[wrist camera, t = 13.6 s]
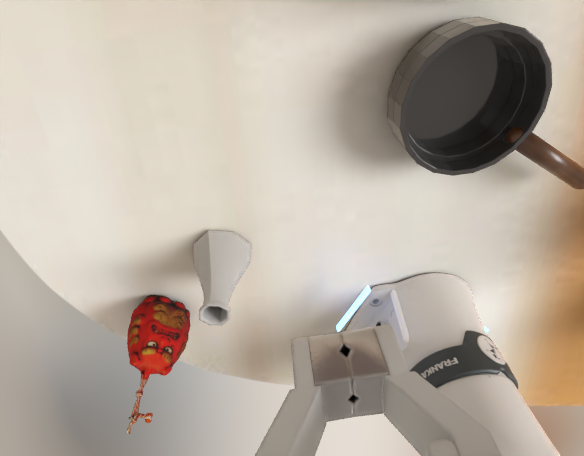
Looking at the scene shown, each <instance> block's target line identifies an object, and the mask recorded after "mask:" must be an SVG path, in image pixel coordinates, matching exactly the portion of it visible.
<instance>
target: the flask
mask: <svg viewBox="0 0 584 456" xmlns="http://www.w3.org/2000/svg"><path fill="white" fill-rule="evenodd" d="M251 247H252V245H251V244H250V243H248V242H247V241H246V240H244V239H243V238H241V237H240V236H238V235H237V234H236V233H234V232H227V231H214V230H208V231H207V232H206V233H205V234H204V235H203V236H202V237H201V238H200V239H199V240H198V241H197V242H196V243H195V244H193V260H194V266H195V269H196V271H197V274H198V277H199V280H200V283H201V286H202V289H203V293H204V303H203V306H202V307H201V308H200V309H199V320H201V321H203V322H205V323H206V324H208V325H223V324H224V323H225V322H227V321H228V320H229V319H230V307H229V306H228V303H229V300H230V297H231V294H232V292H233V290H234V288H235V286H236V285H237V283H238V281H239V279H240V278H241V276H242V275H243V273H244V271H245V270H246V268H247V267H248V265H249V263H250V256H251Z"/></svg>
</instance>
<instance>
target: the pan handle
mask: <svg viewBox="0 0 584 456" xmlns="http://www.w3.org/2000/svg"><path fill="white" fill-rule="evenodd" d="M522 133H523V129H522V127H520V126H517V127H513V128H511V129H510V130H509V131H508V132H507V134H506V137H505V139H506V142H507V143H513V142H515V141H517V140H518V139H519V138H520V137H521V135H522ZM515 150H516V151H518V152H520V153H521V154H523V155H524V156H526V157H527V158H529V159H530V160H532V161H533V162H535V163H536V164H538V165H539V166H541V167H543V168H544V169H546V170H547V171H549V172H550V173H552V174H553V175H555V176H556V177H558V178H559V179H561V180H562V181H564V182H565V183H567V184H569V185H570V186H572V187H573V188H575V189H584V168H583V167H581V166H580V165H578V164H577V163H575V162H574V161H572V160H571V159H570V158H568V157H567V156H565V155H564V154H562V153H561V152H560V151H558V150H557V149H555V148H554V147H552V146H551V145H549V144H548V143H547V142H545V141H544V140H542V139H541V138H539V137H538V136H536V135H535V134H534V133H532V132H531V133H530V134H529V136H528V137H527V138H526V139H525V140H524V141H523V142H522V143H521V144H520V145H519V146H518V147H517V148H516V149H515Z"/></svg>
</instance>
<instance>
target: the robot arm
mask: <svg viewBox="0 0 584 456" xmlns="http://www.w3.org/2000/svg"><path fill="white" fill-rule="evenodd" d="M362 302H363V303H362ZM361 303H362V304H361ZM360 305H361V306H360ZM359 306H360V307H359ZM358 307H359V309H358V311H357V312H356V314H355V316H354V317H353V319H352V320H351V322H350V324H349V325H348V327H347V329H346V330H345V331H342V332H340V333H332V334H324V335H316V336H308V337H301V338H294V339H291V350H292V361H293V372H294V383H295V389H292V390H290V391H289V393H288V395H287V397H286V398H285V400H284V402H283V404H282V406H281V408H280V410H279V412H278V414H277V415H276V417H275V419H274V421H273V423H272V425H271V426H270V428H269V430H268V432H267V434H266V436H265V438H264V440H263V441H262V443H261V445H260V447H259V449H258V451H257V453H256V454H255V456H315V453H316V451H317V448H318V446H319V443H320V440H321V437H322V434H323V432H324V429H325V426H326V422H328V421H334V420H339V419H344V418H351V417H357V416H365V415H374V414H382V413H384V415H385V416H386V417H387V418H388V420H389V421H390V422H391V423H392V424H393V425H394V426H395V427H396V428H397V429H398V431H399V432H400V433H401V434H402V435H403V436H404V437H405V438H406V439H407V440H408V442H409V443H410V444H411V445H412V446H413V447H414V448H415V449H416V450H417V451H418V453H419V454H420V455H421V456H561V455H560V454H559V452H558V451H557V449H556V448H555V447H554V445H553V444H552V442H551V441H550V440H549V438H548V436H547V435H546V433H545V432H544V430H543V429H542V427H541V426H540V424H539V423H538V421H537V420H536V418H535V416H534V415H533V413H532V412H531V410H530V409H529V407H528V405H527V404H526V402H525V401H524V399H523V397H522V396H521V394H520V393H519V391H518V382H517V380H516V379H515V377H514V375H513V373H512V372H511V370H510V368H509V366H508V365H507V363H506V361H505V359H504V357H503V356H502V354H501V352H500V351H499V350H498V348H497V347H496V346H495V344H494V343H493V342H492V340H491V339H490V338H489V337H488V336H487V334H486V332H488V329H487V327H483V325H482V323H481V320H480V318H479V315H478V313H477V310H476V307H475V303H474V299H473V294H472V290H471V288H470V286H469V285H468V284H467V283H466V282H465V281H464V280H462V279H461V278H459V277H457V276H454V275H450V274H445V273H429V274H422V275H418V276H414V277H411V278H409V279H406V280H403V281H401V282H398V283H393V284H383V285H378V286H375V287H373V288H372V289H370V286H368V285H367V287H366V288H365V289H364V290H363V292H362V293H361V294H360V296H359V297H358V298H357V300H356V301H355V302H354V304H353V305H352V306H351V307H350V309H349V310H348V311H347V313H346V314H345V315H344V317H343V318H342V319H341V320H340V322H339V323H338V324H337V326H336V328H337V331H338V332H339V331H340V330H341V329H342V328H343V326H344V325H345V324H346V322H347V321H348V320H349V319H350V317H351V316H352V315H353V313H354V312H355V311H356V310H357V308H358ZM308 339H309V340H308Z"/></svg>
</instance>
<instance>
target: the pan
mask: <svg viewBox="0 0 584 456" xmlns="http://www.w3.org/2000/svg"><path fill="white" fill-rule="evenodd" d="M551 87H552V70H551V61H550V59H549V56H548V54H547V52H546V50H545V47H544V45H543V43H542V42H541V41H540V40H539V39H538V38H536V37H535V36H534V35H533V34H532V33H530V32H529V31H528V30H527V29H525V28H522V27H518V26H514V25H510V24H506V23H502V22H497V21H493V20H489V19H485V18H481V17H473V18H466V19H459V20H455V21H454V20H453V21H451V22H449V23H447V24H445V25H443V26H441V27H439V28H437V29H435V30H433V31H431V32H430V33H429V34H427V35H426V36H425V37H424V38H423V39H422V40H421V41H420V42H418V43H417V44H416V45H415V46H414V47H413V48H412V49H411V50H410V51H409V53H408V54H407V56H406V57H405V59H404V60H403V62H402V63H401V65H400V66H399V68H398V69H397V71H396V73H395V76H394V79H393V82H392V85H391V88H390V91H389V95H388V118H389V121H390V125H391V128H392V131H393V133H394V135H395V136H396V138H397V139H398V140H399V141H400V143H401V144H402V145H403V146H404V148H405V149H406V150H407V151H408V153H409V154H410V155H411V156H412V158H413V159H414V160H415V162H416V163H417V164H419V165H421V166H422V167H424V168H426V169H428V170H430V171H431V172H434V173H440V174H446V175H460V174H468V173H473V172H476V171H479V170H481V169H484V168H486V167H489V166H491V165H494V164H496V163H497V162H498V161H500V160H501V159H503V158H504V157H506V156H507V155H509V154H510V153H511V152H513V151H514V150H515V149H516V148H517V147H518V146H519V145H520V144H521V143H522V142H523V141H524V140H525V139H526V138H527V137H528V136H529V134H530V133H531V132H532V131H533V129H534V128H535V126H536V124H537V123H538V121H539V119H540V118H541V116H542V114H543V112H544V111H545V108H546V105H547V101H548V98H549V94H550V91H551ZM517 126H520V127H522V129H523V133H522V135H521V137H520V138H519V139H518V140H517V141H515V142H513V143H507V142H506V139H505V137H506V134H507V132H508V131H509V130H510V129H511V128H513V127H517Z"/></svg>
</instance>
